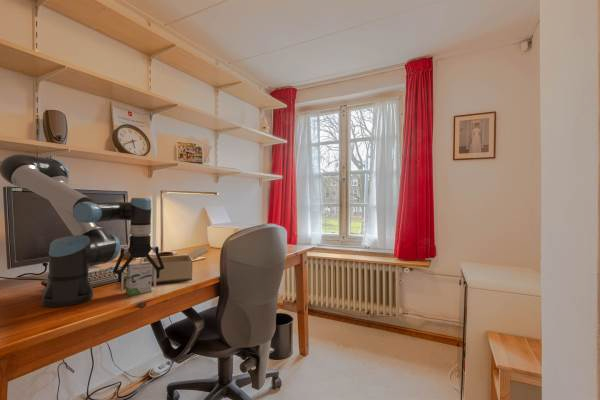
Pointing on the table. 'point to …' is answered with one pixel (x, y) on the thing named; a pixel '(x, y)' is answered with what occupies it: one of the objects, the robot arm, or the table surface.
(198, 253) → the flap
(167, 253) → the mug
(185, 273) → the carton
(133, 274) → the ink box
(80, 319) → the table surface
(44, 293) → the robot arm
